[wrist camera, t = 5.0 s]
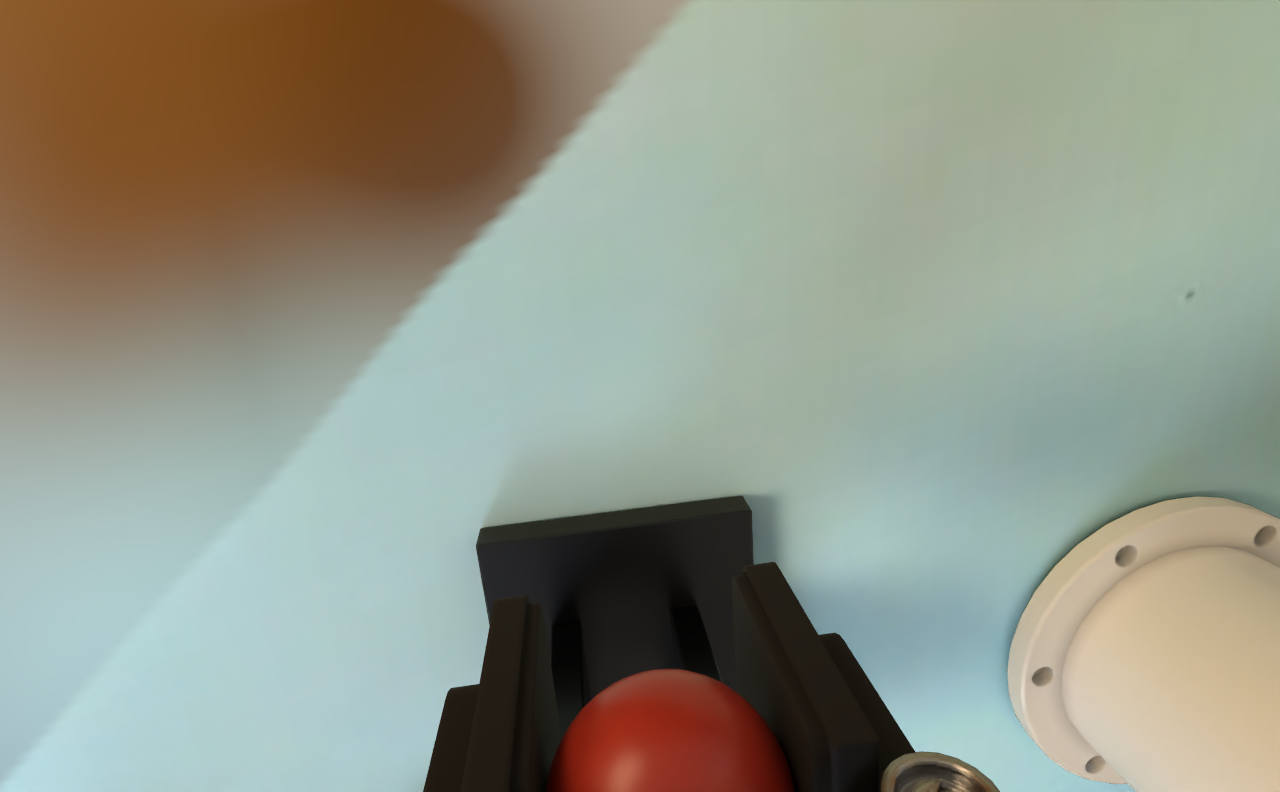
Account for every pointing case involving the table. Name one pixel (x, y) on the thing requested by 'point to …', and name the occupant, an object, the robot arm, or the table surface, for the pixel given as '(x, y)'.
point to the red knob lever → (669, 740)
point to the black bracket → (626, 591)
